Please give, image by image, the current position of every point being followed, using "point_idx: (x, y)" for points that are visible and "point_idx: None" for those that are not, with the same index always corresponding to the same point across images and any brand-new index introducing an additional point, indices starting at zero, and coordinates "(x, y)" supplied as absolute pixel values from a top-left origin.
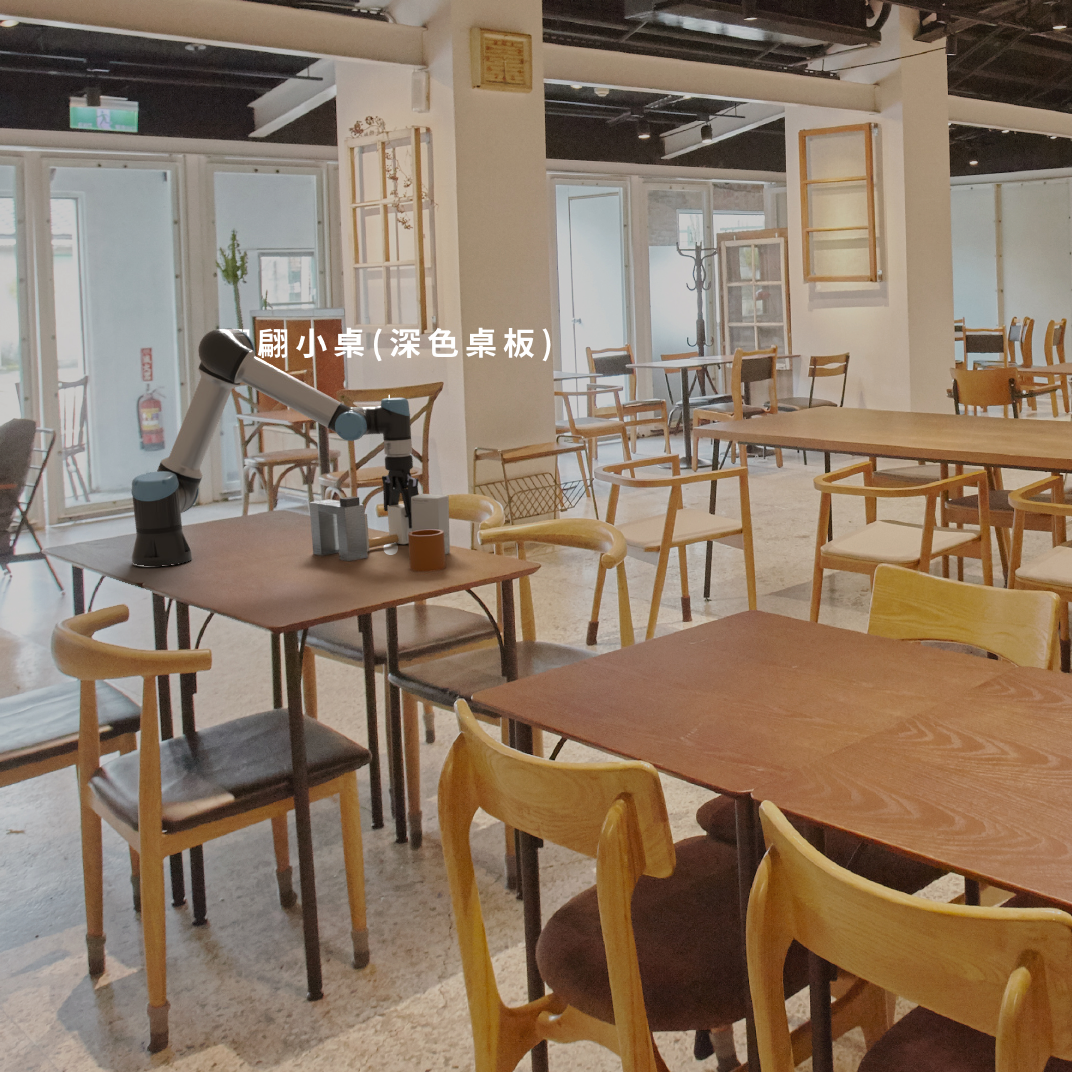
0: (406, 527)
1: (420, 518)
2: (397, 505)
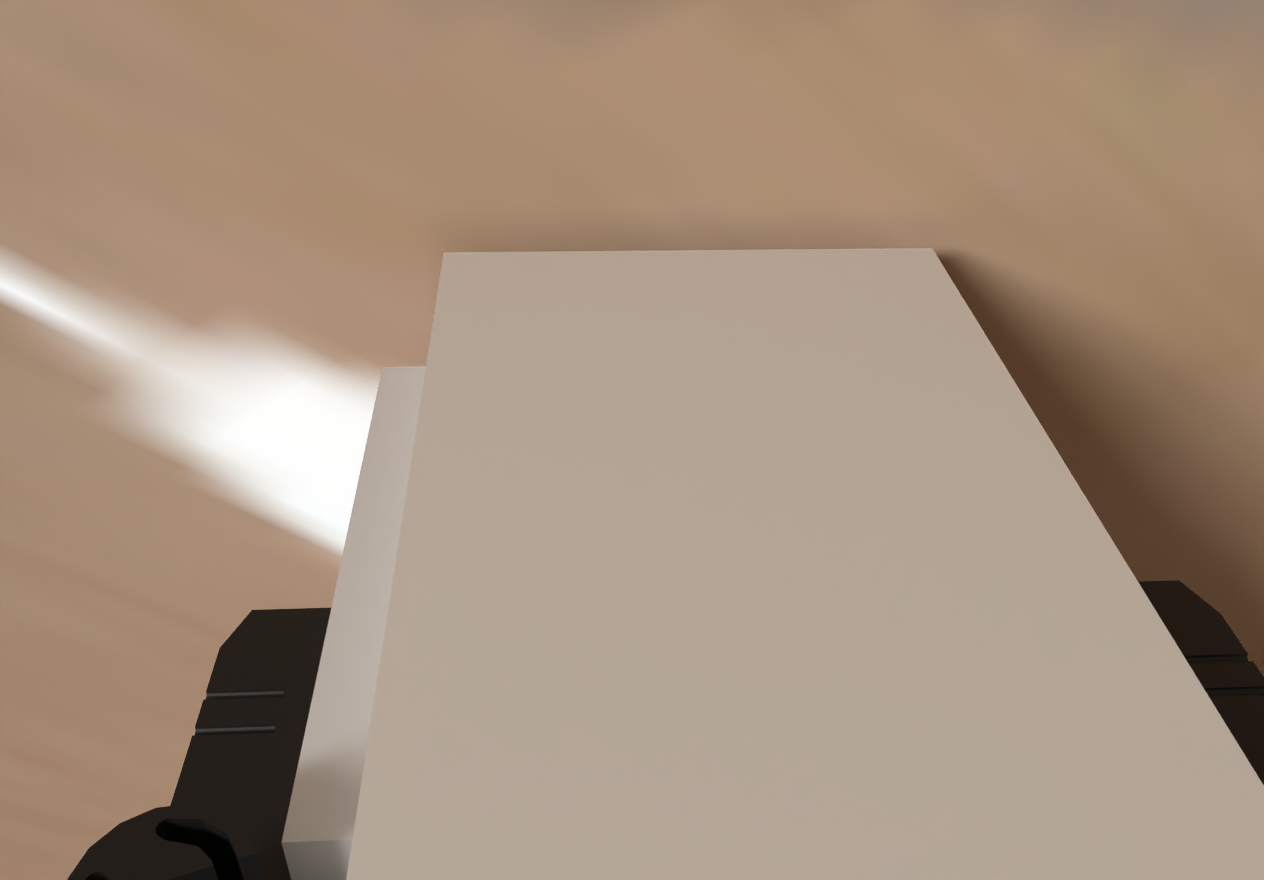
0: None
1: None
2: None
